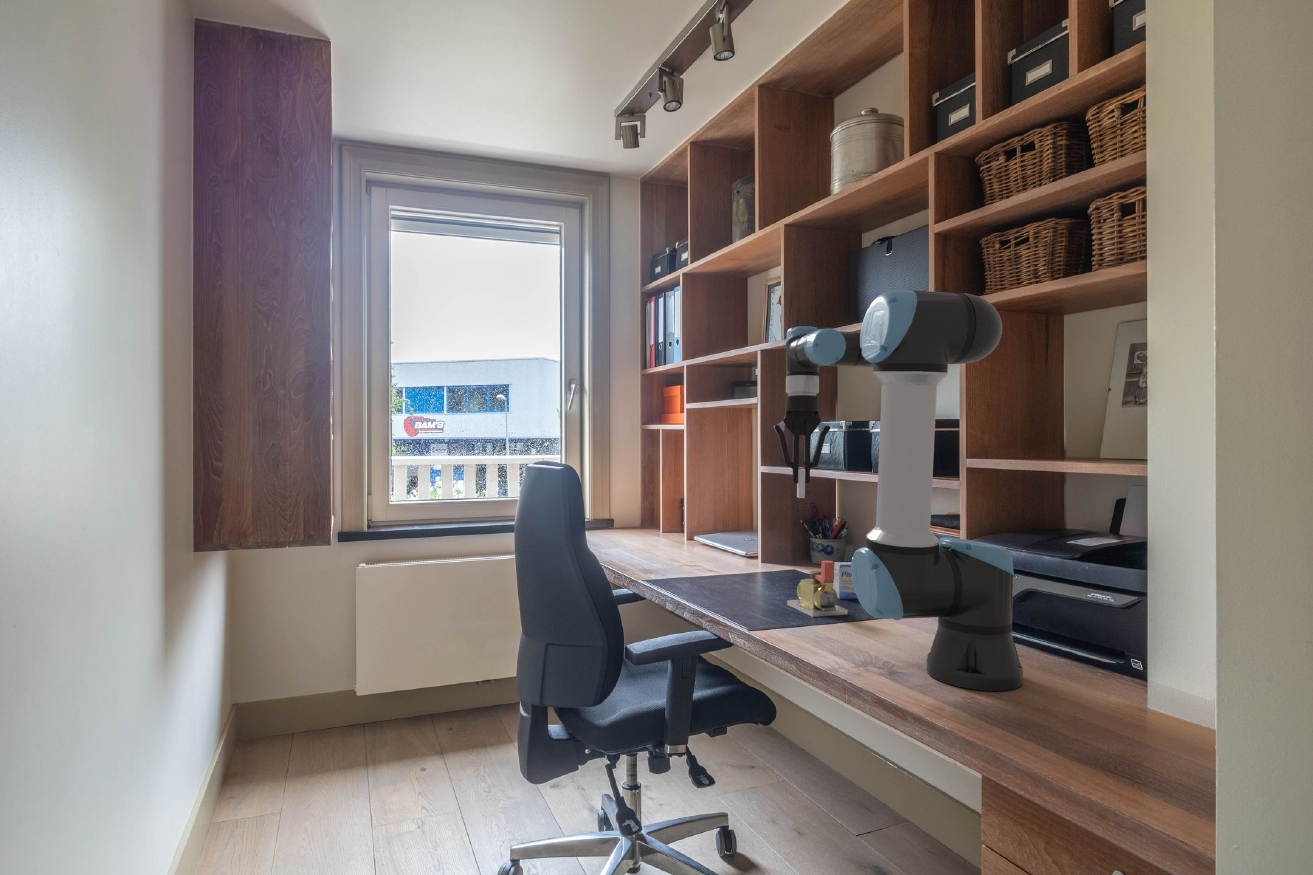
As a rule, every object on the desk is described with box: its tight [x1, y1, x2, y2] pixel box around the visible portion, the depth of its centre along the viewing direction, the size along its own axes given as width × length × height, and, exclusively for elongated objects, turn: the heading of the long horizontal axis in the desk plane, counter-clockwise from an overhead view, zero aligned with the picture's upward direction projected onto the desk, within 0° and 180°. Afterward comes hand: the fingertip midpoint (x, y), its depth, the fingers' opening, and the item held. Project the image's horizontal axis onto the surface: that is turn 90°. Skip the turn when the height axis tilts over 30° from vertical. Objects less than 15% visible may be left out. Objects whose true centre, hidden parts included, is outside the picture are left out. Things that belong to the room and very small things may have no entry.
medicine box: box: [833, 561, 858, 600], centre depth 184 cm, size 8×4×9 cm, turn 95°
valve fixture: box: [786, 578, 849, 618], centre depth 171 cm, size 12×9×7 cm
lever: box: [809, 560, 835, 583], centre depth 168 cm, size 3×10×5 cm, turn 7°
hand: (800, 497), depth 169 cm, fingers closed
